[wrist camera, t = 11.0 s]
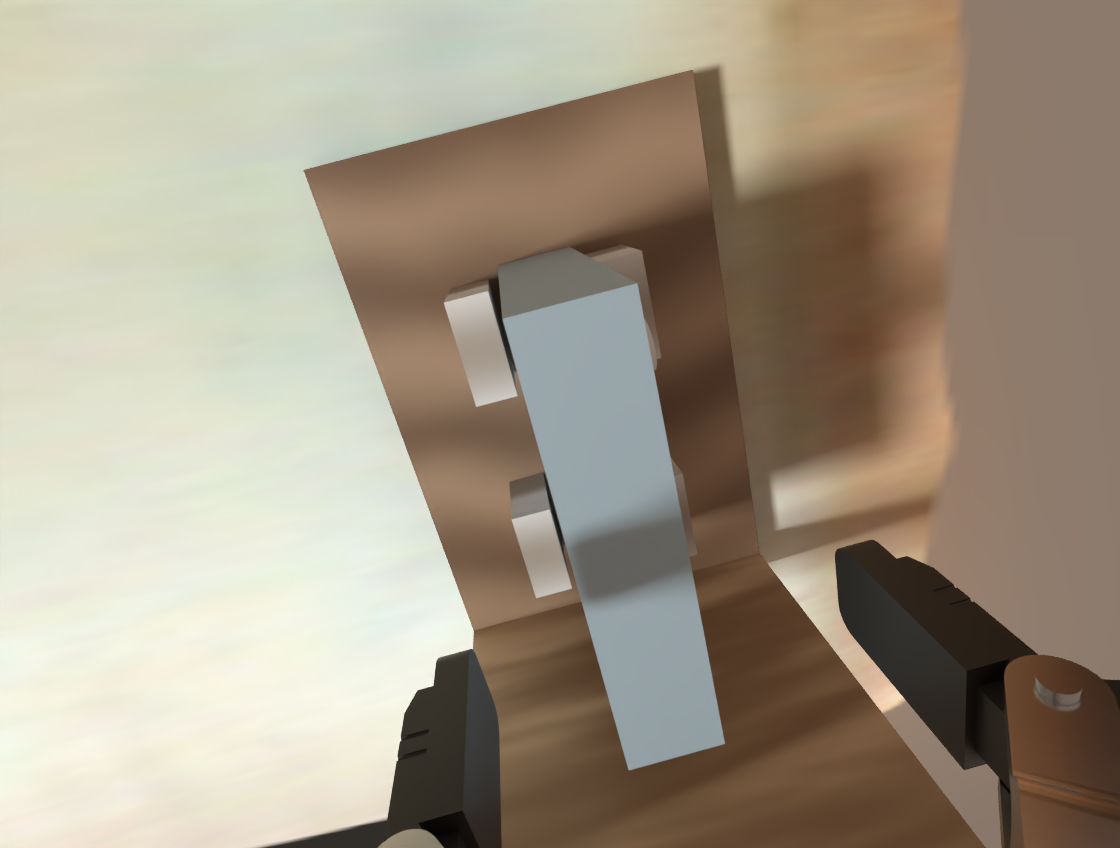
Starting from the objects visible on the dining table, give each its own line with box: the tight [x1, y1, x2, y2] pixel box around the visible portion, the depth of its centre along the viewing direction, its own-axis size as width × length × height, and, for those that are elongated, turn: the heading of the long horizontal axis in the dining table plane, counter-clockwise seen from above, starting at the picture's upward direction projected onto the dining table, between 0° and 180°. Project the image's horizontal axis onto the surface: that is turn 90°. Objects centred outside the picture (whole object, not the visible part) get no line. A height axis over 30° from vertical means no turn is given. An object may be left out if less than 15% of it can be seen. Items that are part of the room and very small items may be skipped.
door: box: [498, 247, 725, 770], centre depth 21 cm, size 14×4×12 cm, turn 14°
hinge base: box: [304, 70, 985, 848], centre depth 17 cm, size 24×15×24 cm, turn 14°
